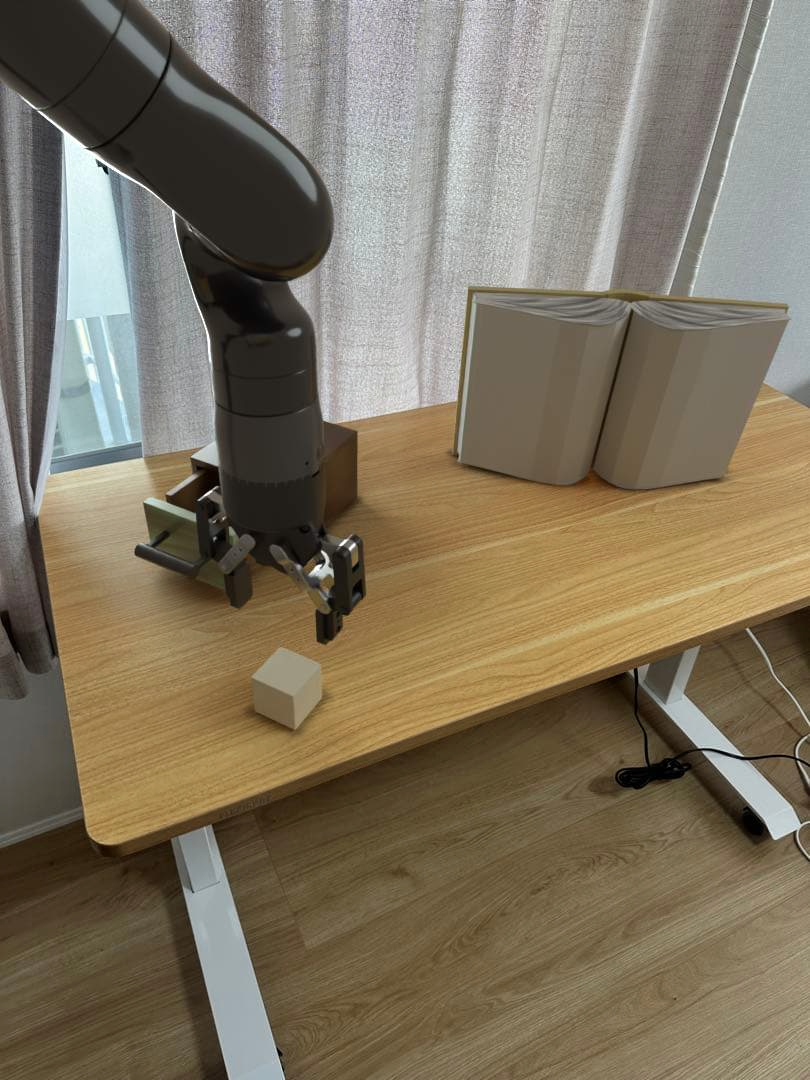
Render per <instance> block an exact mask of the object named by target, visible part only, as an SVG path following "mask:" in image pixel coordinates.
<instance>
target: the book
mask: <svg viewBox="0 0 810 1080" xmlns="http://www.w3.org/2000/svg"><path fill="white" fill-rule="evenodd" d="M466 292H467V294H466V302H465V312H464V313H465V314H464V324H463V325H464V326H463V334H462V345H461V354H460V355H461V356H460V364H459V365H460V366H459V376H458V377H459V378H458V386H457V397H456V408H455V418H454V419H455V420H454V428H453V429H454V431H453V438H452V440H453V441H452V448H451V449H452V451H451V455H452V456H456V457H457V456H458V459H457V460H456V463H460V464H464V465H467V466H472V467H475V468H480V469H484V470H488V471H492V472H496V473H499V474H502V475H503V474H504V475H508V476H511V477H514V478H519V479H522V480H526V481H531V482H535V483H540V484H542V485H551V486H569V485H573V484H576V483H578V482H579V481H581V480H582V479H584V478H585V477H586V476H587V475H588V474H589V472H590V470H591V469H592V470H593V472H594V473H595V474H596V475H597V476H598V477H599V478H601V479H602V480H604V481H605V482H606V483H608V484H610V485H611V486H614V487H616V488H618V489H619V488H620V489H624V490H628V491H629V490H630V491H640V490H642V491H643V490H653V489H659V488H666V487H671V486H678V485H685V484H690V483H696V482H701V481H708V480H715V479H722V478H726V477H728V476H727V474H726V473H727V471H728V469H729V466H730V463H731V461H732V458H733V457H734V454H735V452H736V449H737V446H738V444H739V442H740V440H741V437H742V434H743V433H744V429H745V428H746V425H747V423H748V420H749V418H750V415H751V413H752V410H753V408H754V406H755V403H756V401H757V398H758V396H759V393H760V392H761V389H762V387H763V384H764V381H765V379H766V376H767V374H768V371H769V370H770V368H771V364H772V362H773V360H774V358H775V355H776V353H777V350H778V347H779V345H780V343H781V340H782V338H783V335H784V333H785V330H786V328H787V326H788V324H789V321H790V320H791V321H792V320H793V318H792V317H790V316H789V315H787V313H788V310H789V308H790V306H789V304H788V303H782V302H769V301H756V300H755V301H754V300H742V299H740V300H739V299H727V298H715V297H714V298H713V297H712V298H711V297H700V296H699V297H698V296H685V295H673V294H672V295H669V294H657V293H648V292H645V291H641V290H635V289H628V288H627V289H626V288H613V289H607V290H604V291H598V290H596V291H595V290H575V289H550V288H529V287H528V288H526V287H505V286H504V287H503V286H479V285H467V291H466Z"/></svg>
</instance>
